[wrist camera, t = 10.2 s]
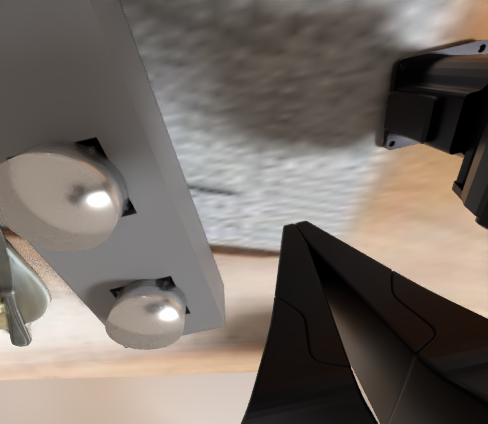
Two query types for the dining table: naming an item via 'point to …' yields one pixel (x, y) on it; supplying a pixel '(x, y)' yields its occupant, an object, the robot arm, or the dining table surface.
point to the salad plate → (19, 294)
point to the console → (105, 149)
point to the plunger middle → (63, 195)
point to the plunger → (147, 314)
